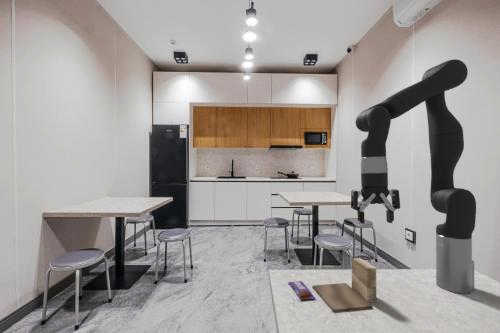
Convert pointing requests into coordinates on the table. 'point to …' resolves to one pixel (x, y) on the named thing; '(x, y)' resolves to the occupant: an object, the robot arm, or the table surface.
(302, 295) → the snack package
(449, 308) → the table surface
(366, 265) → the wooden block
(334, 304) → the walnut board
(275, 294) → the table surface
